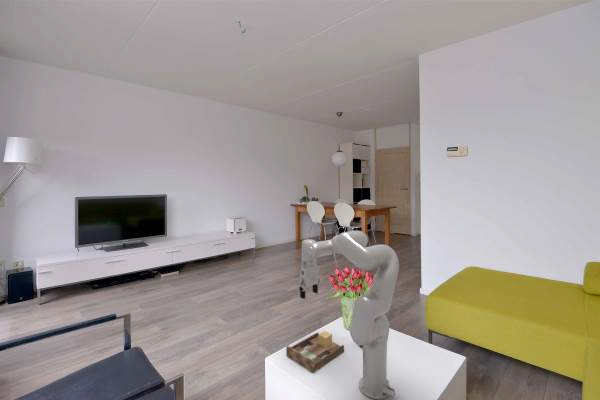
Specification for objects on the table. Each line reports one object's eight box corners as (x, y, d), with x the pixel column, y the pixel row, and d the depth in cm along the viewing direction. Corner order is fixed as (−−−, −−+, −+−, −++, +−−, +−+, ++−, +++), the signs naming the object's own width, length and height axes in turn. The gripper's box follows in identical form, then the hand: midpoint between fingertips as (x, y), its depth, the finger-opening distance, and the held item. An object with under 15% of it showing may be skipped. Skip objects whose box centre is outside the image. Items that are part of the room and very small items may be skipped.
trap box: (343, 351, 142) (343, 342, 141) (313, 373, 126) (313, 362, 125) (317, 338, 154) (317, 329, 154) (286, 355, 138) (286, 346, 138)
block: (332, 343, 145) (332, 334, 145) (325, 347, 142) (325, 338, 141) (324, 340, 149) (324, 330, 148) (318, 343, 145) (318, 334, 145)
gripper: (302, 268, 137) (302, 302, 138) (325, 261, 150) (325, 292, 151) (292, 265, 143) (292, 298, 144) (314, 258, 155) (314, 289, 156)
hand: (309, 295), depth 147 cm, fingers open, 9 cm apart
